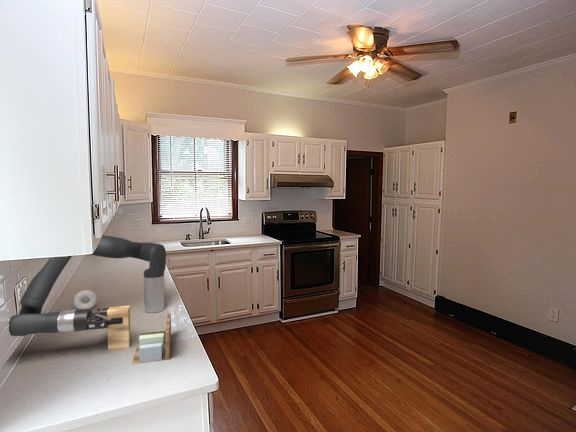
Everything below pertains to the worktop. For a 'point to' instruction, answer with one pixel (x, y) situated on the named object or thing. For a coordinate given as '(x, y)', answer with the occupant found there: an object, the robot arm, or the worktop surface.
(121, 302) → the worktop surface
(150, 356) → the offcut
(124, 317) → the light brown wooden block
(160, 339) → the offcut
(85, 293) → the donut
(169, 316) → the rack
